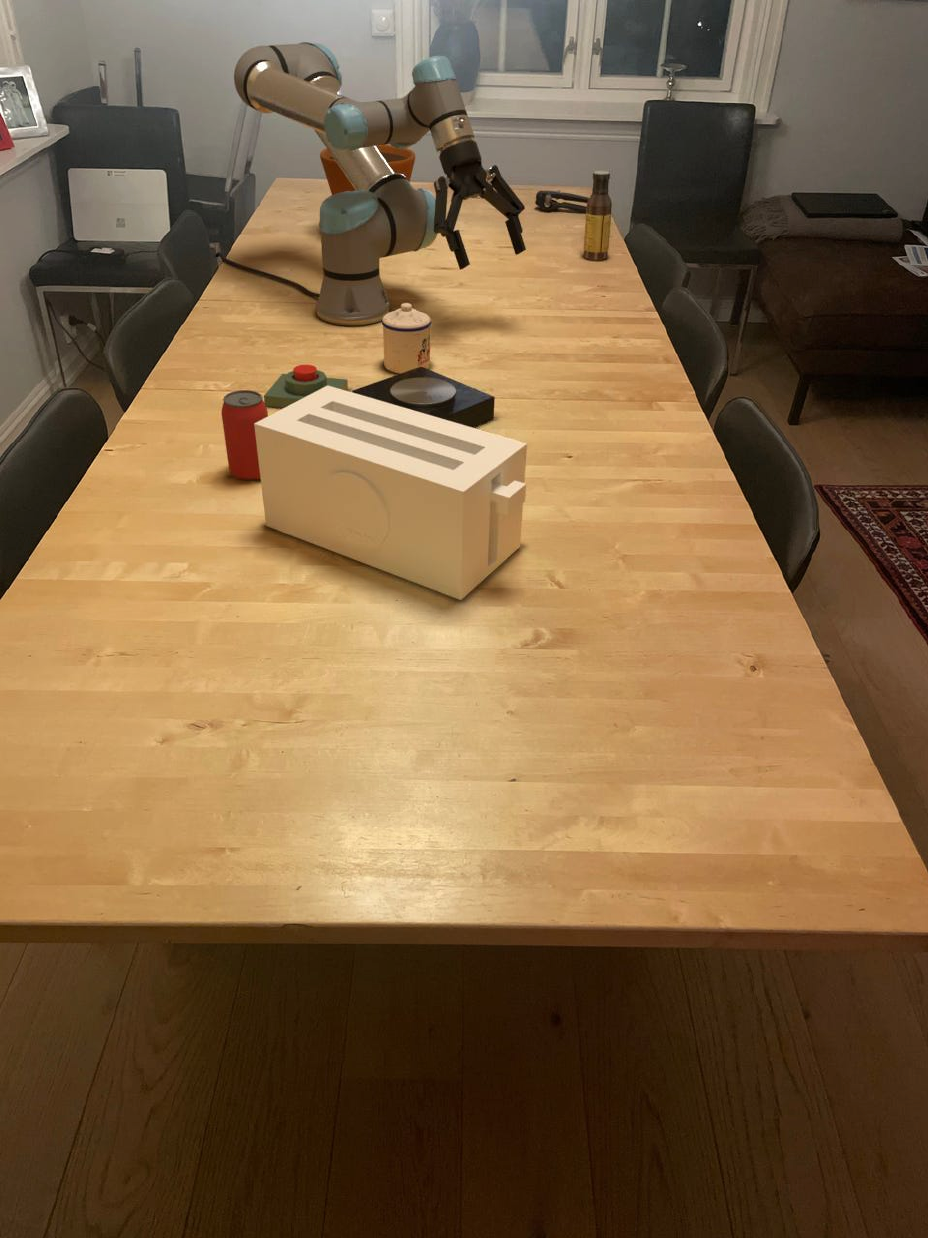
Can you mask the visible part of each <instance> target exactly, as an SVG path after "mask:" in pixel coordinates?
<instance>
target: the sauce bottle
mask: <svg viewBox="0 0 928 1238" xmlns="http://www.w3.org/2000/svg"><path fill="white" fill-rule="evenodd" d="M610 179H611V173H610V171H607V170H595V171H593V172H592V190H591V191H592V193H591V194H590V196H589V197H588V198H589V199H588V202H587V203H586V207H587V208H586V213H585V223H584V237H583V239H584V240H583V258H585V259H586V260H589V261H603V260H605V259H607V258H608V254H609V253H608V252H609V248H610V238H611V237H610V235H611V225H612V205H613V203H612V199H611V197H610V195H609V182H610Z"/></svg>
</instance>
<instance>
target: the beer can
mask: <svg viewBox="0 0 928 1238" xmlns="http://www.w3.org/2000/svg"><path fill="white" fill-rule="evenodd" d="M222 400H223V403H222V407H221V412H220V413H221V420H222V427H223V435H224V442H225V443H224V444H225V449H226V450H225V451H226V457H227V464H228V471H229V473H230V475H232V476H233V477H234V478H237V479H239V480H243V481H255V480H261V478H260V469H259V460H258V452H257V443H256V435H255V426H254V423H256V422H258V421H260V420H262V419H264V418H266V417H268V416H269V412H268V408H267V407H266V406H265V402H264V399H263V395H262V394H261V393H260V392H257V391H255V390H250V389H239V390H233V391H231V392H228V393H226V394H225V395H224V396H223V399H222Z"/></svg>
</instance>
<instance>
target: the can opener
mask: <svg viewBox="0 0 928 1238" xmlns="http://www.w3.org/2000/svg"><path fill="white" fill-rule="evenodd" d="M535 195H536V196H535V201H534V203H535V205H536V206H537V207H539V208H540V209H542V210H543V211H546V212H550V211H553V210H558V209H565V210H570V211H573V212H578V213H581V214H582V213H584V214H586V208H587V205H586V206H585V205H581V204H577V203H582V204H583V203H584V204H587V202H588V199H589V198H590V197H588V196H584V195H580V194H575V193H570V192H564V191H563V192H561V190H560V189H557V190H541V189H540V190H539V191H537V192H536V193H535ZM557 200H562V202H558V201H557ZM566 201H567V202H566ZM571 202H577V203H571Z"/></svg>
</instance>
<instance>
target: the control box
mask: <svg viewBox="0 0 928 1238" xmlns="http://www.w3.org/2000/svg"><path fill="white" fill-rule="evenodd" d="M327 385H328V386H331V387H335V388H338V389H342V390H345V391H348V392H349V384H348V379H347V378H337V377H335V378H334V377H327V375H326V373H325V372H324V371H321V370H319V369H317V379H316V380H313V381H308V382H300V381H296V380H294V373H293V370H292V371H289V372H287V373H282V374H281V375H280V376H279V377H278V378H277V379H276V380H275V382H273V384H272V385H271V386H270V388H269V389H268V390H267V391H266V393H264V395H263V401H264V403H265V406H266V408H267V407H268V408H275V409H276V408H277V409H283V408H285V407H287V406H289V405H291V404H293V403H295V402H297V401H299V400H301V399H302V398H304V397H306V396H308V395H310V394H312V393H314V392H316V391H318V390H320V389H322V388H324V387H326V386H327Z"/></svg>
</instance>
